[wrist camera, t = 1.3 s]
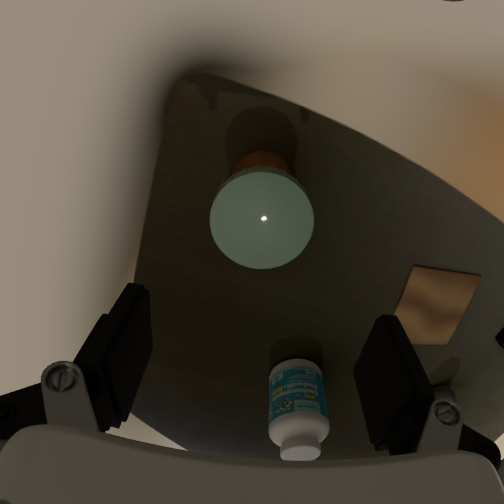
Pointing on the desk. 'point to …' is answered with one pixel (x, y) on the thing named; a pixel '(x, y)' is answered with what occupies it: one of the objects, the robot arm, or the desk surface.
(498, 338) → the vhs tape
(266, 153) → the jam jar
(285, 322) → the desk surface
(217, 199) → the jam lid
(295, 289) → the desk surface
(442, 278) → the coaster
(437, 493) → the robot arm
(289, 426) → the pill bottle
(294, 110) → the desk surface
